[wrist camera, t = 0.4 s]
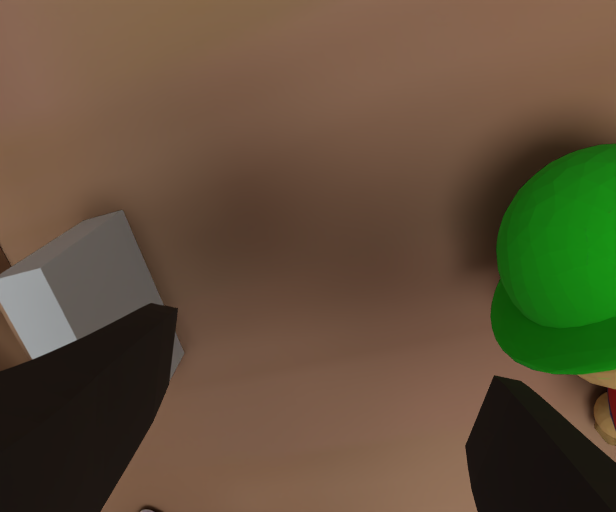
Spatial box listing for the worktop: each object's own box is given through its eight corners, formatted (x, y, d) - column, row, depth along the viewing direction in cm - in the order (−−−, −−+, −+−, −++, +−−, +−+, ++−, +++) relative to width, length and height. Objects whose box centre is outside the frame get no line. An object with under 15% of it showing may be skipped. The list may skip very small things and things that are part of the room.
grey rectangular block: (184, 352, 23) (133, 448, 17) (148, 360, 23) (86, 457, 18) (123, 209, 21) (39, 268, 15) (83, 220, 21) (-12, 281, 15)
